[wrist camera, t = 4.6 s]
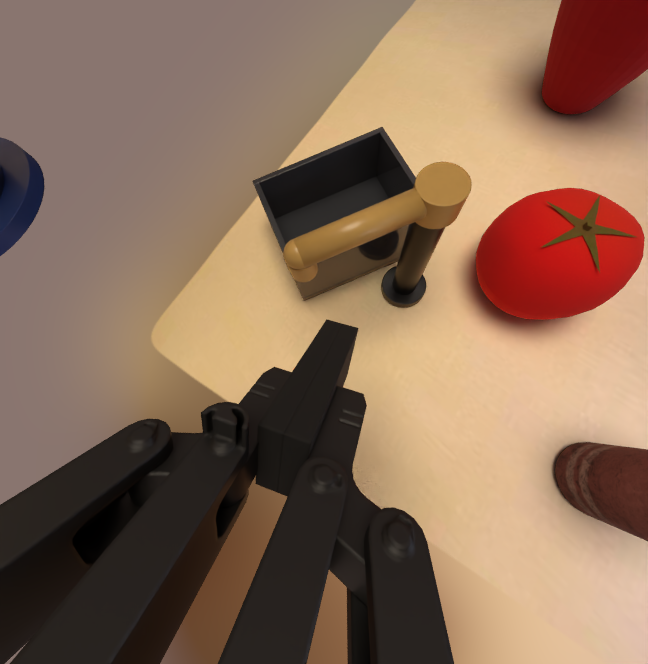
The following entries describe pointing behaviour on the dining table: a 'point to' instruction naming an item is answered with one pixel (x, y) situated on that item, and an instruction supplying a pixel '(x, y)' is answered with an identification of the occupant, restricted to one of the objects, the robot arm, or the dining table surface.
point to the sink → (338, 203)
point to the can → (607, 484)
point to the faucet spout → (383, 218)
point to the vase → (594, 52)
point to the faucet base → (411, 267)
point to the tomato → (558, 254)
